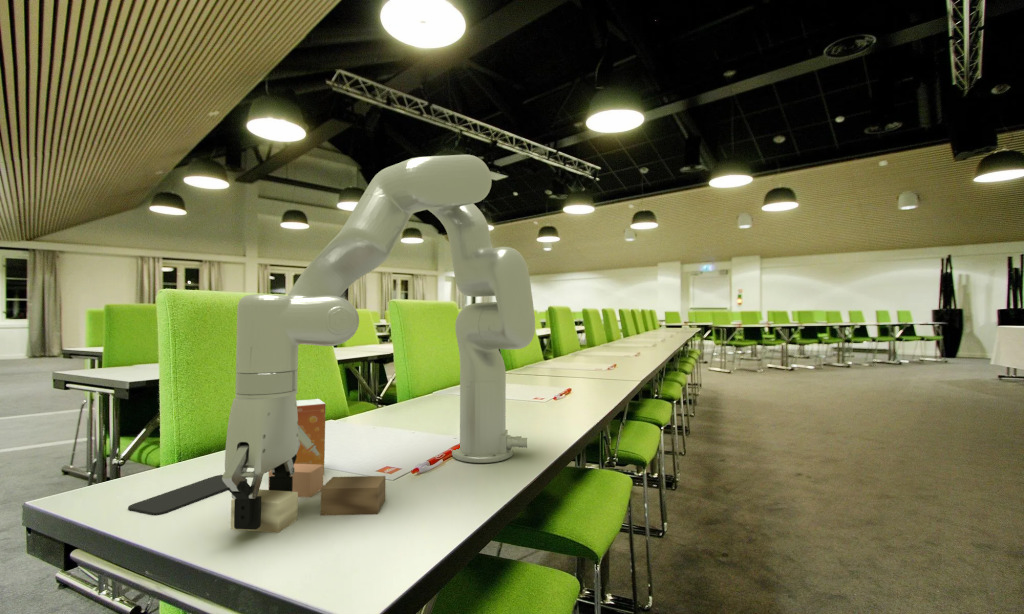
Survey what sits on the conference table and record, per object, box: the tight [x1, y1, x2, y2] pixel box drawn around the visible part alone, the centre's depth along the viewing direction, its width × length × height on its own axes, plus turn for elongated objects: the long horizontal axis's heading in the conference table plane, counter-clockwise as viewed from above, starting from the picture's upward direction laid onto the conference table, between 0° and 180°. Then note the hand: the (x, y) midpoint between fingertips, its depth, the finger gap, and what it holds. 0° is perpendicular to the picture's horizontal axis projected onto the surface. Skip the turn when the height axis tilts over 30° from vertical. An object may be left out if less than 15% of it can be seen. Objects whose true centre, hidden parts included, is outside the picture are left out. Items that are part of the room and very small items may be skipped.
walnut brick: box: [320, 475, 387, 517], centre depth 68 cm, size 8×5×4 cm, turn 93°
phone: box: [127, 474, 248, 516], centre depth 73 cm, size 7×1×15 cm
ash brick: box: [230, 488, 299, 534], centre depth 62 cm, size 7×4×4 cm, turn 81°
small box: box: [294, 398, 327, 476], centre depth 83 cm, size 8×6×13 cm
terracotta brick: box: [267, 464, 324, 498], centre depth 74 cm, size 7×4×4 cm, turn 84°
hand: (265, 514), depth 62 cm, fingers open, 6 cm apart
